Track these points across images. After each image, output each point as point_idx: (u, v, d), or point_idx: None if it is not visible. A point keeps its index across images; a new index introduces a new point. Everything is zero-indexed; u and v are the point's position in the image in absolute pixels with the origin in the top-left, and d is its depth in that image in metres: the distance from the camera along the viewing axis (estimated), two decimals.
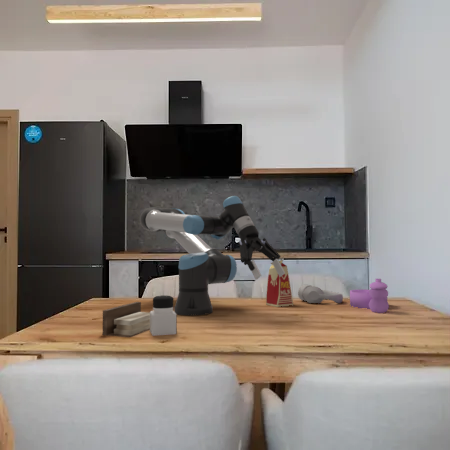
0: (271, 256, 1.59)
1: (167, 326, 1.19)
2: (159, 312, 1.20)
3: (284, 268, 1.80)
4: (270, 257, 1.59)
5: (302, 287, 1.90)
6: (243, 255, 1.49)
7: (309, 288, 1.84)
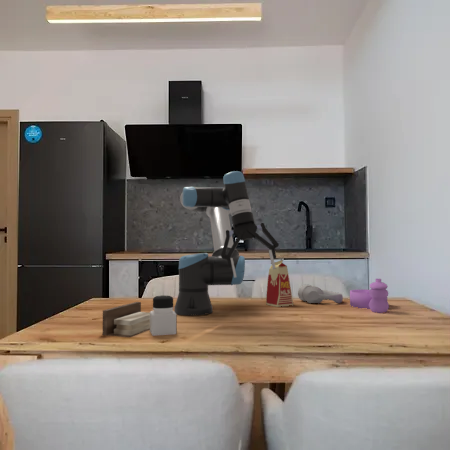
0: (266, 245, 1.41)
1: (167, 326, 1.19)
2: (159, 312, 1.20)
3: (284, 268, 1.80)
4: (266, 246, 1.42)
5: (302, 287, 1.90)
6: (222, 252, 1.41)
7: (309, 288, 1.84)
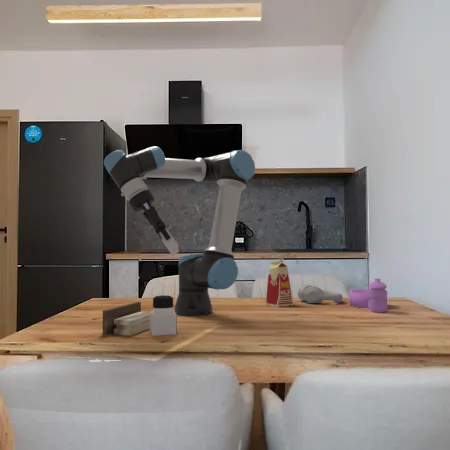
0: None
1: (167, 326, 1.19)
2: (159, 312, 1.20)
3: (284, 268, 1.80)
4: None
5: (302, 287, 1.90)
6: None
7: (309, 288, 1.84)
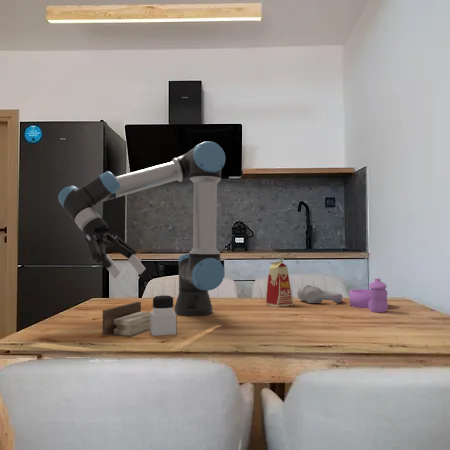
0: None
1: (167, 326, 1.19)
2: (159, 312, 1.20)
3: (284, 268, 1.80)
4: None
5: (302, 287, 1.90)
6: None
7: (309, 288, 1.84)
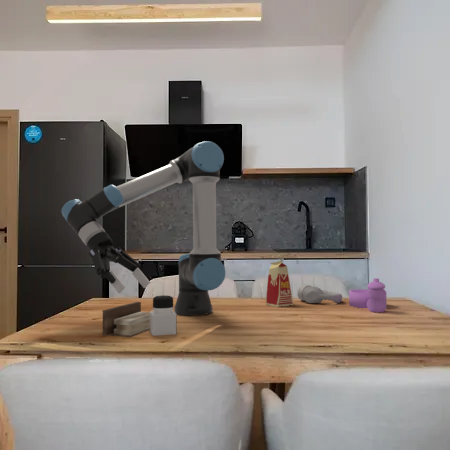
0: None
1: (167, 326, 1.19)
2: (159, 312, 1.20)
3: (284, 268, 1.80)
4: None
5: (301, 287, 1.90)
6: None
7: (309, 288, 1.84)
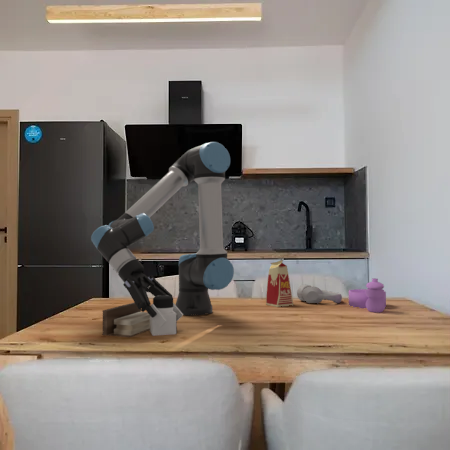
0: None
1: (167, 326, 1.19)
2: None
3: (284, 268, 1.80)
4: None
5: (301, 287, 1.90)
6: None
7: (308, 288, 1.84)
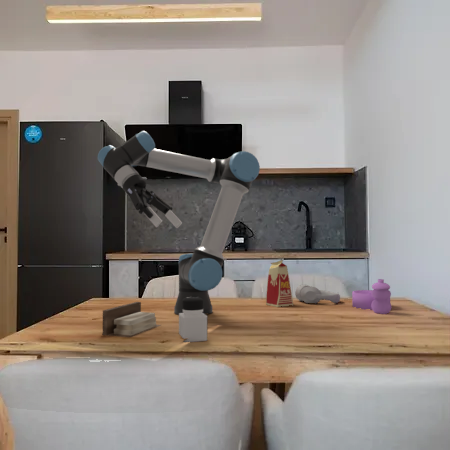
0: None
1: (198, 329, 1.16)
2: (189, 314, 1.16)
3: (284, 268, 1.80)
4: None
5: (299, 287, 1.90)
6: None
7: (306, 288, 1.84)
